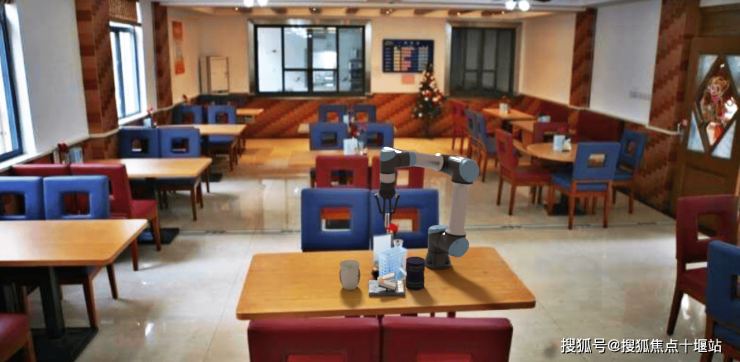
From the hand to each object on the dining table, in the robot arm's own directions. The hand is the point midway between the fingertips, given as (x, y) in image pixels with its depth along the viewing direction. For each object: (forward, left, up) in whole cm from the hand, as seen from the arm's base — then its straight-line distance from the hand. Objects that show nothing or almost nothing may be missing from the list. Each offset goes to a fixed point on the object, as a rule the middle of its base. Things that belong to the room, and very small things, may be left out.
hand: (386, 226), depth 287 cm
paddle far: (0, -4, -29) cm, 30 cm away
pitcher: (+19, -4, -35) cm, 40 cm away
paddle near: (0, +4, -29) cm, 30 cm away
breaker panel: (0, 0, -34) cm, 34 cm away
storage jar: (-15, -4, -35) cm, 38 cm away
